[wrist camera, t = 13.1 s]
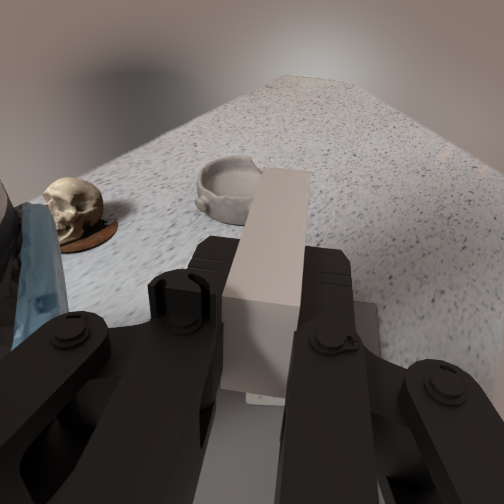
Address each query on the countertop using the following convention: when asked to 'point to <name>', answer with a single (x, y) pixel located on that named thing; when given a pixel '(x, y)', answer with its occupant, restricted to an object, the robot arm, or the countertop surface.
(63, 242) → the skull
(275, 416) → the mat
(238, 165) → the dish
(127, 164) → the countertop surface
